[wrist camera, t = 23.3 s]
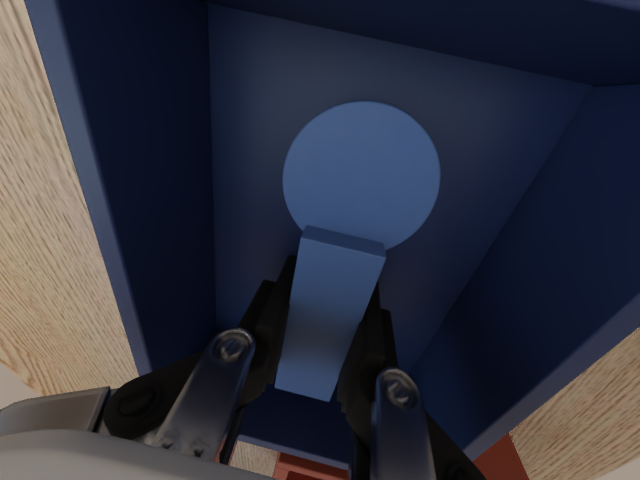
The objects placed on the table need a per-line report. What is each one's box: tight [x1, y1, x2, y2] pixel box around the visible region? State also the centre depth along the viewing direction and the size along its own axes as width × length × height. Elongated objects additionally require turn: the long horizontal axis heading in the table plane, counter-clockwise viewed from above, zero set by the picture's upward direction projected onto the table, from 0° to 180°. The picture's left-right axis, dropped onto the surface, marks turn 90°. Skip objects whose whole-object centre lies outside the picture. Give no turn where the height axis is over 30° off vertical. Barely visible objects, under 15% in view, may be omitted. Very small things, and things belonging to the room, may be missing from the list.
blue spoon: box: [275, 100, 441, 402], centre depth 9 cm, size 11×4×3 cm, turn 169°
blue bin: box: [24, 0, 640, 470], centre depth 9 cm, size 15×12×5 cm
